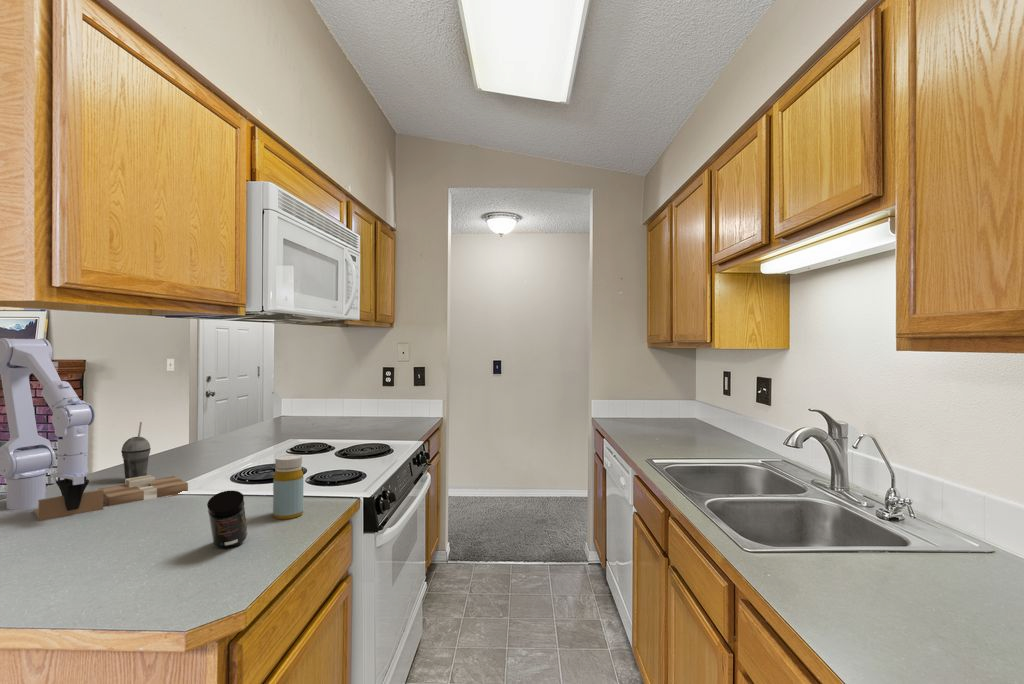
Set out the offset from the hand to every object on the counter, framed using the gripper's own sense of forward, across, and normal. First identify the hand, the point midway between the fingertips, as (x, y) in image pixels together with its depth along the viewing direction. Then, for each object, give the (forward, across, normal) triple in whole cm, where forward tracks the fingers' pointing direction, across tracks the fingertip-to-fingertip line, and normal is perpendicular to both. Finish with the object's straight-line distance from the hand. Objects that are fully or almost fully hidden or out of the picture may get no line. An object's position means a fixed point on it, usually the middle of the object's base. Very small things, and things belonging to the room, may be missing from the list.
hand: (72, 508), depth 124 cm
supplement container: (+3, +46, +18) cm, 50 cm away
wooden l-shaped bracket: (+2, 0, 0) cm, 2 cm away
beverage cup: (+3, -24, +18) cm, 30 cm away
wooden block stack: (+3, -3, +16) cm, 17 cm away
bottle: (+3, +36, +36) cm, 51 cm away
